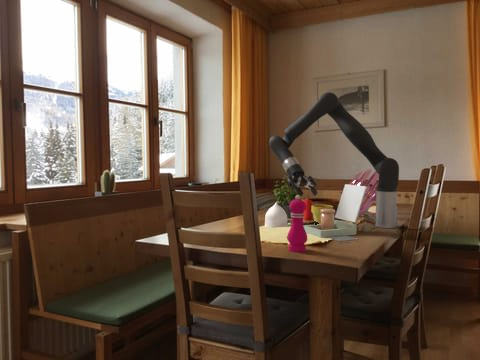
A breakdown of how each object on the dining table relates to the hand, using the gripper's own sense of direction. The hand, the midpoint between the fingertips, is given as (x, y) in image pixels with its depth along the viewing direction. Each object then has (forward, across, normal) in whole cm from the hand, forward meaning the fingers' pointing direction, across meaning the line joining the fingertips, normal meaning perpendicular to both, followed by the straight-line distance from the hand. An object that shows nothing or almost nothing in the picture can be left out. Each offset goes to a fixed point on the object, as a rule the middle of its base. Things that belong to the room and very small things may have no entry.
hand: (309, 194), depth 192 cm
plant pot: (+7, +15, +16) cm, 23 cm away
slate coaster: (+29, -4, -6) cm, 29 cm away
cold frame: (+21, +3, +2) cm, 21 cm away
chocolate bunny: (+24, +20, -1) cm, 31 cm away
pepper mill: (+31, -31, -8) cm, 45 cm away
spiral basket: (0, +60, +23) cm, 64 cm away
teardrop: (0, -5, +24) cm, 25 cm away
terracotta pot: (+19, 0, +3) cm, 19 cm away
